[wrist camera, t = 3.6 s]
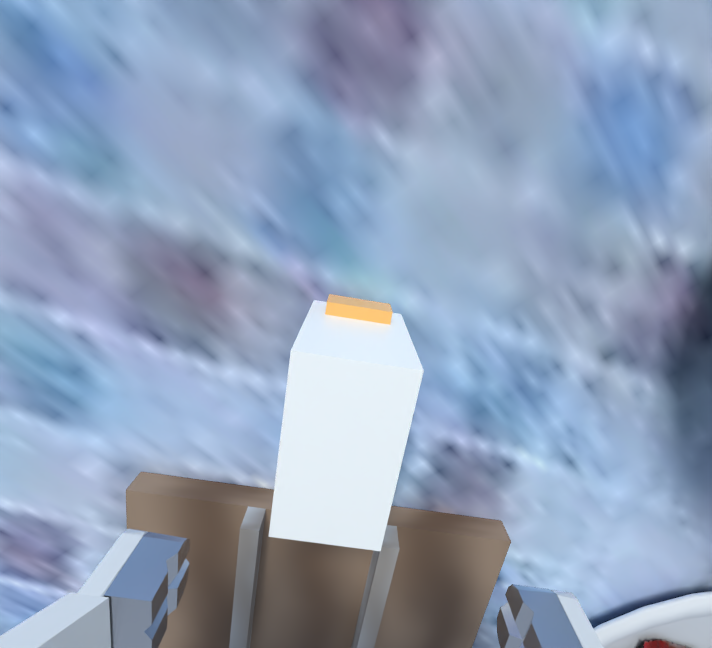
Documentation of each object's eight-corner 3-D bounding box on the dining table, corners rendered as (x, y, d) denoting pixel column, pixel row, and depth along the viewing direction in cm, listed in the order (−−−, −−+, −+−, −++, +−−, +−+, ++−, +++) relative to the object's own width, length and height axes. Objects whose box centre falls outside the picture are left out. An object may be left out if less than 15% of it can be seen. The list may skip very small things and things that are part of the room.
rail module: (296, 433, 22) (268, 536, 15) (315, 288, 19) (292, 333, 12) (373, 445, 22) (380, 551, 15) (403, 302, 19) (427, 354, 12)
